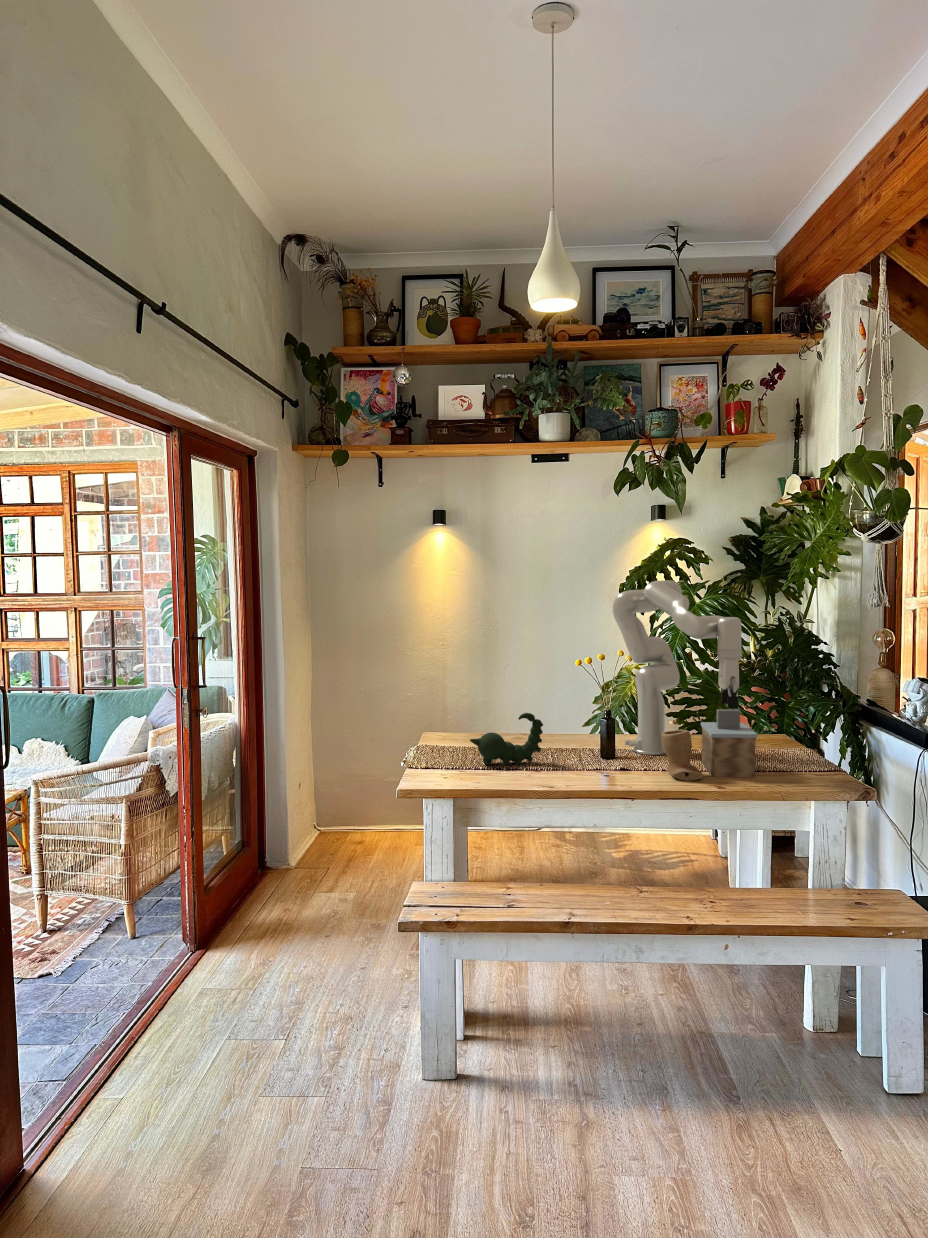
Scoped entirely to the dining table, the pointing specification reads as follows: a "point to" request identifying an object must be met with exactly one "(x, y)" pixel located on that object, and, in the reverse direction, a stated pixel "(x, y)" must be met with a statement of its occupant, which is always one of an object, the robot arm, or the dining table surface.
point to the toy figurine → (510, 745)
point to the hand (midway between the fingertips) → (729, 706)
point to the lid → (728, 725)
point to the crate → (728, 756)
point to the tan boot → (679, 755)
